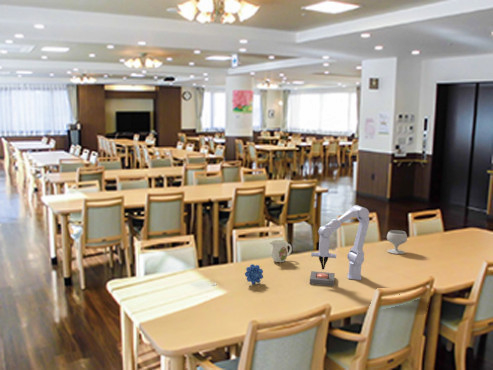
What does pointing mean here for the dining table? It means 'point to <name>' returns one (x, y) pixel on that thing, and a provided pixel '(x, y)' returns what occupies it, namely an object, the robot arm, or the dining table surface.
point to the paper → (213, 285)
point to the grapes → (254, 274)
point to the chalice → (396, 240)
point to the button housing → (322, 279)
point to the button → (322, 275)
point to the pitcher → (280, 250)
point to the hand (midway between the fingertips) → (323, 268)
